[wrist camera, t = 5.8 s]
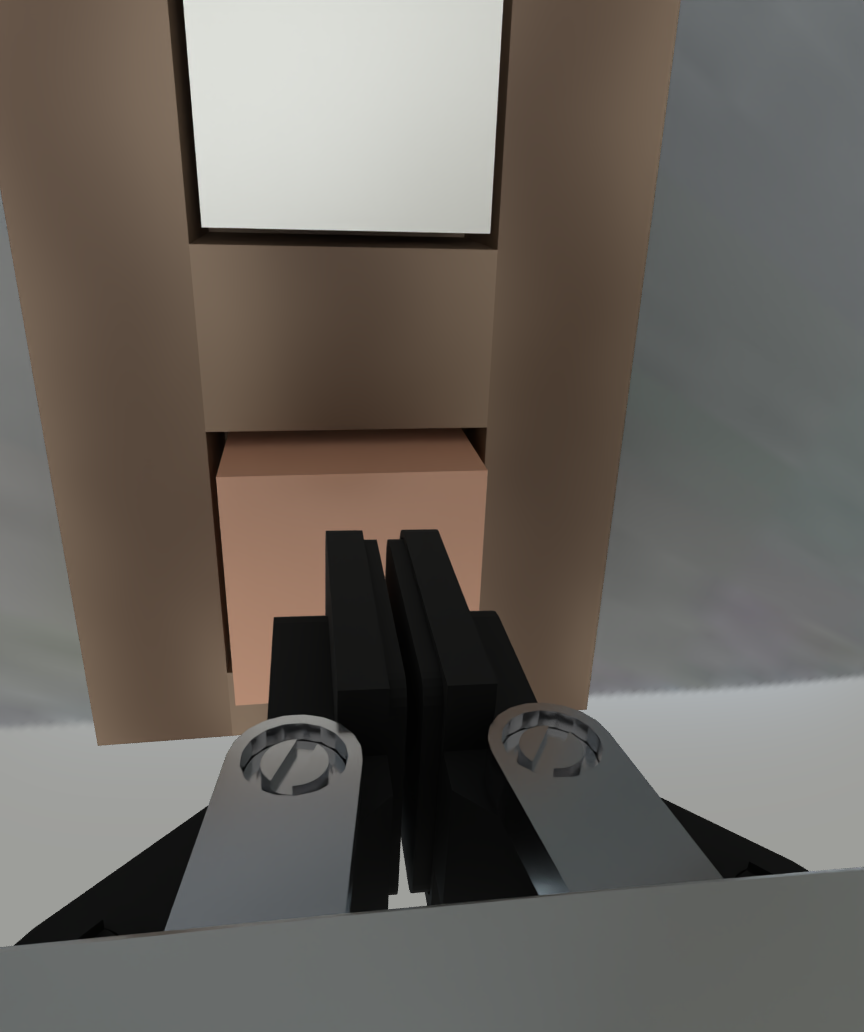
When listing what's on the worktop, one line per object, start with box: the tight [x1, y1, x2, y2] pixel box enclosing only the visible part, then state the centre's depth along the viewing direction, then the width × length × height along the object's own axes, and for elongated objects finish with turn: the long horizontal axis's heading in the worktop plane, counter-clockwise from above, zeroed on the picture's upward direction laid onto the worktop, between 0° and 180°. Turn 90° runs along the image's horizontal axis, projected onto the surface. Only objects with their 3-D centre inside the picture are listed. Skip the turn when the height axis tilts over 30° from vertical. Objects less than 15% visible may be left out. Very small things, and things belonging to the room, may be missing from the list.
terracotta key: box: [216, 428, 488, 706], centre depth 20 cm, size 6×6×4 cm
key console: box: [0, 0, 681, 746], centre depth 20 cm, size 14×22×5 cm, turn 178°
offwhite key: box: [183, 0, 503, 234], centre depth 17 cm, size 6×6×4 cm
